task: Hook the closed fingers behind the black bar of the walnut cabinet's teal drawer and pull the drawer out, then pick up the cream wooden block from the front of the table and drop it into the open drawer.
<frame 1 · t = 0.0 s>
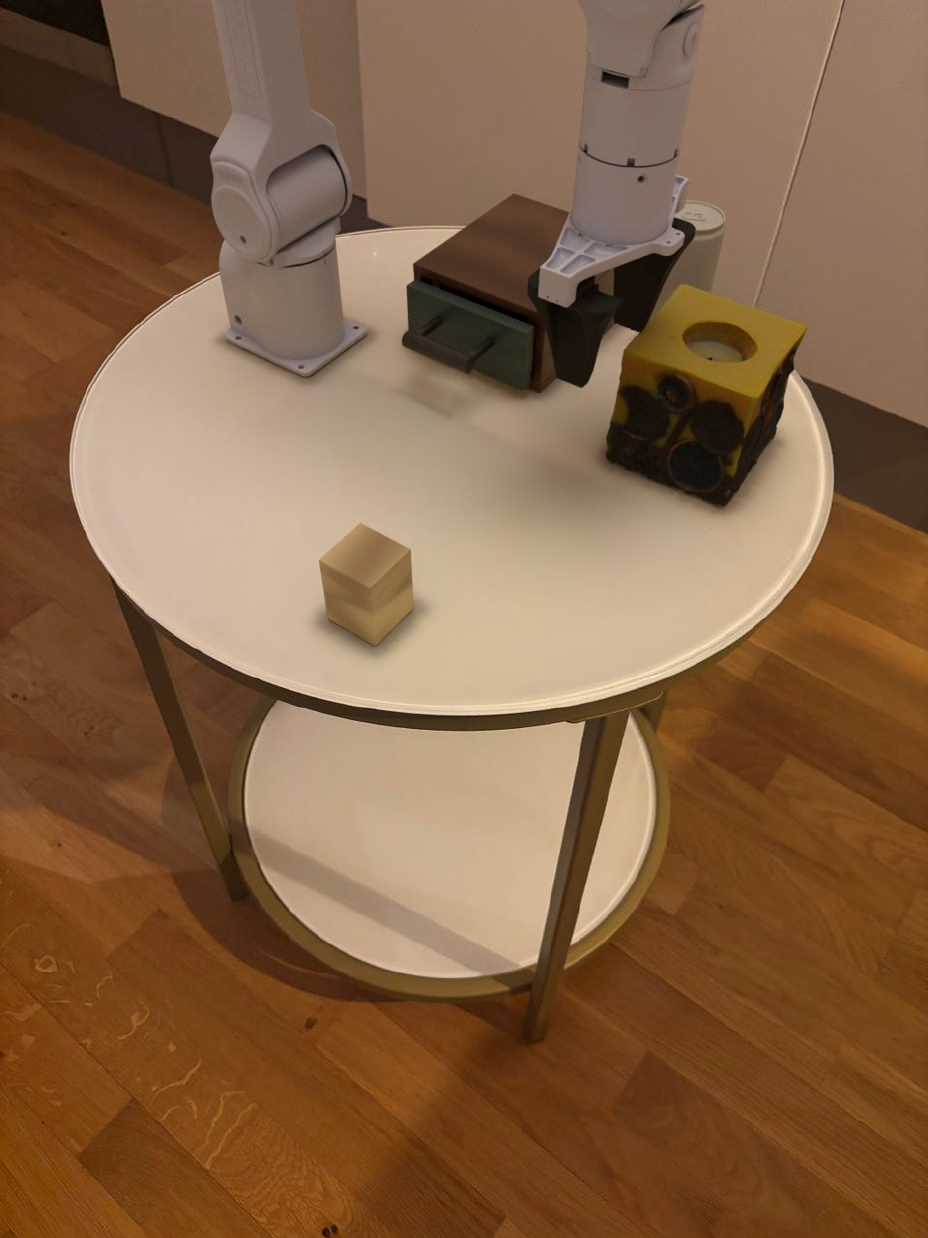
hand: (601, 352, 65), 10 cm above the table, tool pointing down, fingers open, 7 cm apart
block: (370, 613, 63), on the table
candle: (689, 450, 74), on the table
cabinet: (523, 325, 85), on the table
beverage can: (668, 353, 83), on the table
drawer: (497, 312, 80), point 4 cm above the table, slide at 0.5 cm
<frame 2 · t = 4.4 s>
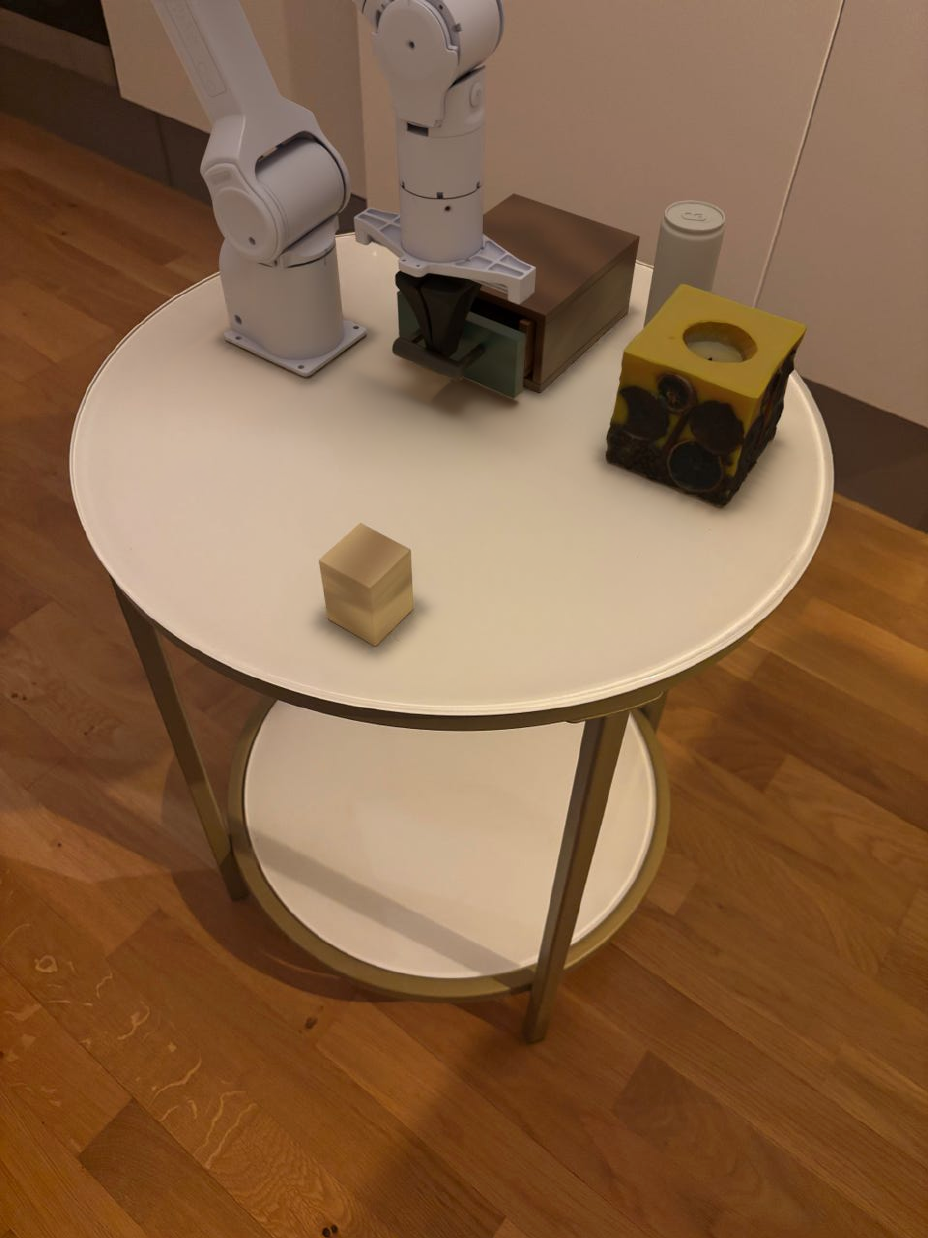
hand: (443, 353, 76), 4 cm above the table, tool pointing down, fingers closed, pressing on drawer
drawer: (488, 318, 79), point 4 cm above the table, slide at 1.7 cm, touching gripper
everything else where it was.
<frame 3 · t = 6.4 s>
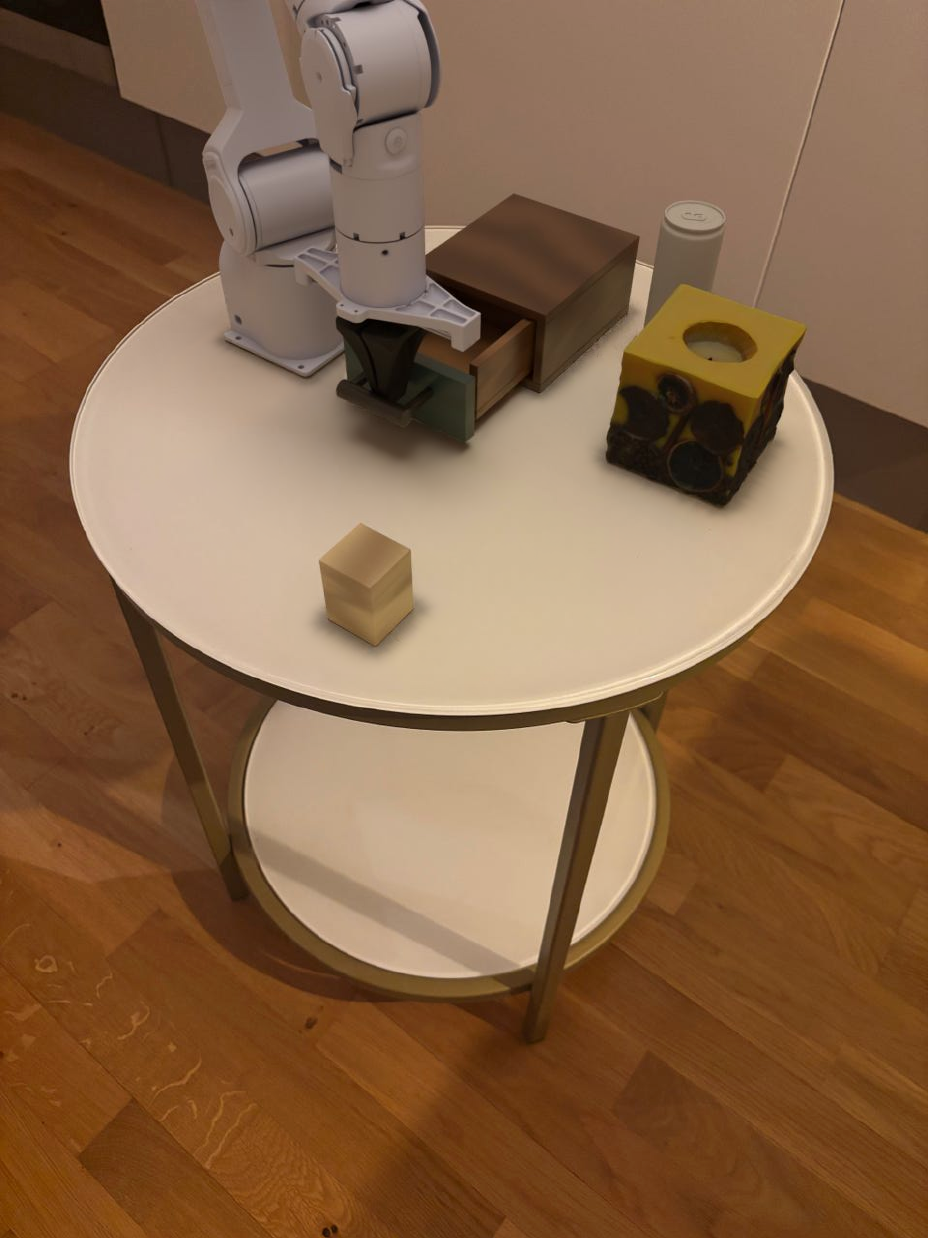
hand: (390, 397, 72), 4 cm above the table, tool pointing down, fingers closed, pressing on drawer
drawer: (440, 357, 76), point 4 cm above the table, slide at 8.4 cm, touching gripper
everything else where it was.
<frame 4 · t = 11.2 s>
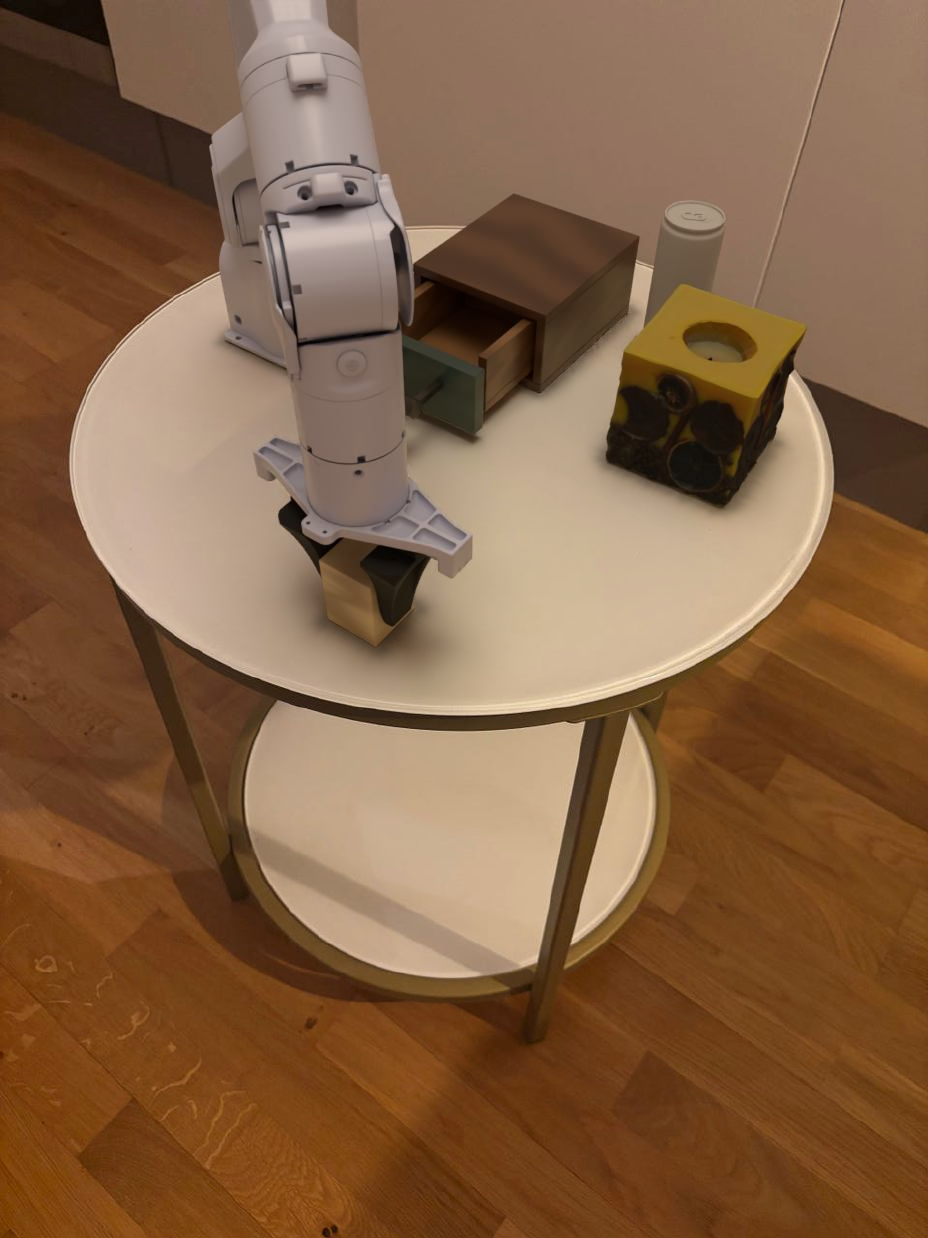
hand: (369, 599, 62), 1 cm above the table, tool pointing down, fingers closed on block, 4 cm apart
block: (371, 613, 63), on the table, touching gripper
drawer: (449, 350, 76), point 4 cm above the table, slide at 7.2 cm
everything else where it was.
when the fingers open (6 cm above the table, at t = 16.4 s): block drops 3 cm, resting on drawer.
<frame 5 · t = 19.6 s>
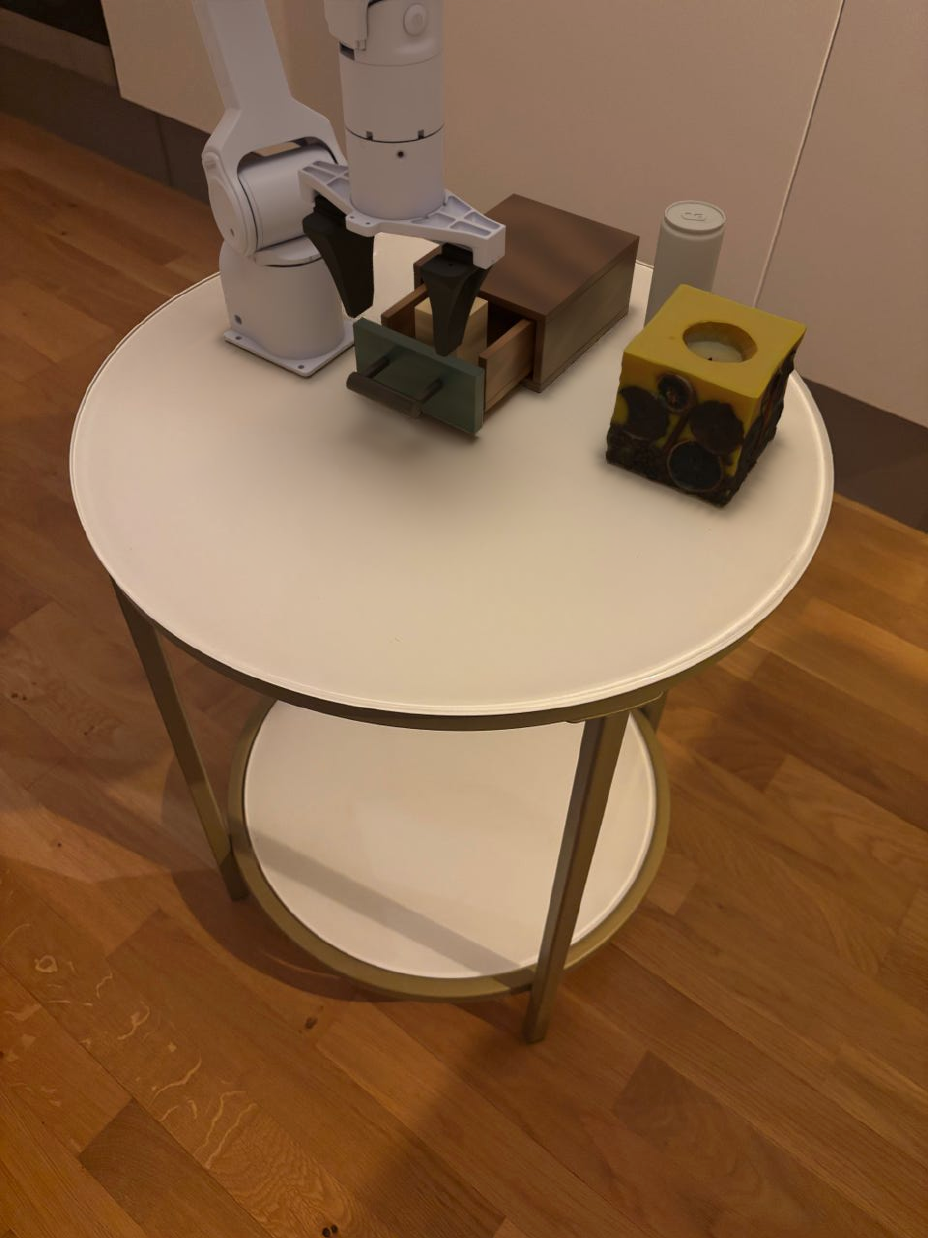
hand: (403, 329, 66), 10 cm above the table, tool pointing down, fingers open, 7 cm apart
block: (451, 365, 78), point 2 cm above the table, touching drawer
drawer: (449, 350, 76), point 4 cm above the table, slide at 7.2 cm, touching block
everything else where it was.
at the end: drawer slide at 7.2 cm; block inside the target area in the drawer (0.8 cm from its centre), point 2.0 cm above the cabinet's base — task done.
